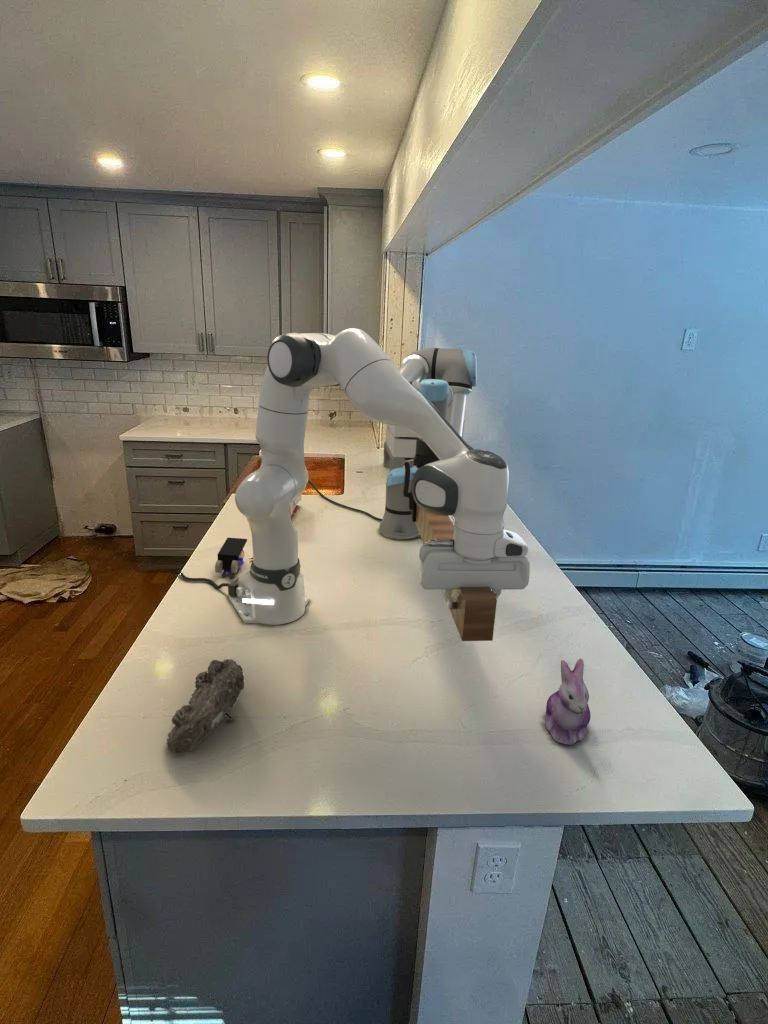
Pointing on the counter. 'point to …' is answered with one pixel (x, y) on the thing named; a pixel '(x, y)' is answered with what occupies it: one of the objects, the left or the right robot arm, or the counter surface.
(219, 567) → the figurine character
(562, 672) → the figurine
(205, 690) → the fossil
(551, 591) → the counter surface
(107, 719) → the counter surface
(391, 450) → the white boxy crate
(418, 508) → the post
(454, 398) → the right robot arm
